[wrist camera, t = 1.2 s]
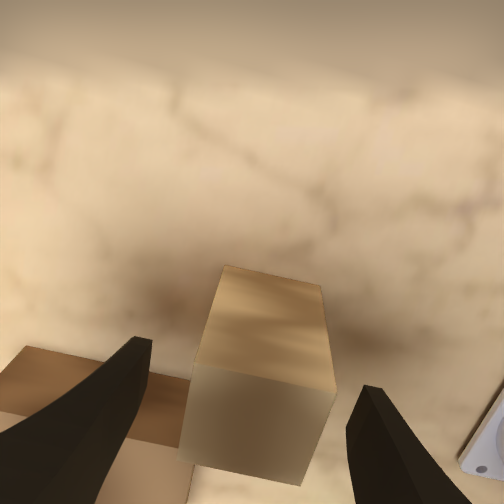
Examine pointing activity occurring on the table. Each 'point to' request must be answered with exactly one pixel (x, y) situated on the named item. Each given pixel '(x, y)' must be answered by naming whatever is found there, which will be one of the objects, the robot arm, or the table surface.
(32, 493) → the robot arm
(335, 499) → the table surface
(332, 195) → the table surface
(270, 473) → the maple block
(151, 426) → the walnut block
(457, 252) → the table surface
